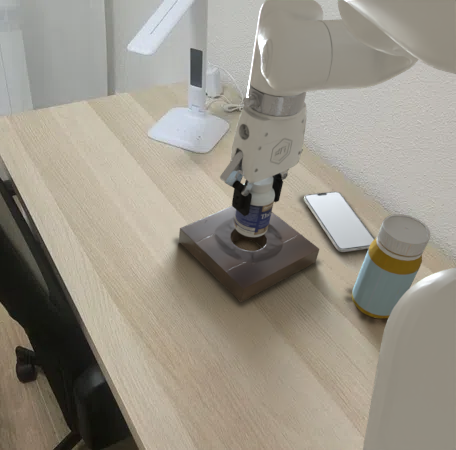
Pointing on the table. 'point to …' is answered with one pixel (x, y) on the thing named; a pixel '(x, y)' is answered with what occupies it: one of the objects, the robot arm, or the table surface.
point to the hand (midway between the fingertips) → (255, 202)
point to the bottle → (390, 265)
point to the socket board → (247, 252)
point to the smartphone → (339, 221)
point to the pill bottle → (257, 210)
